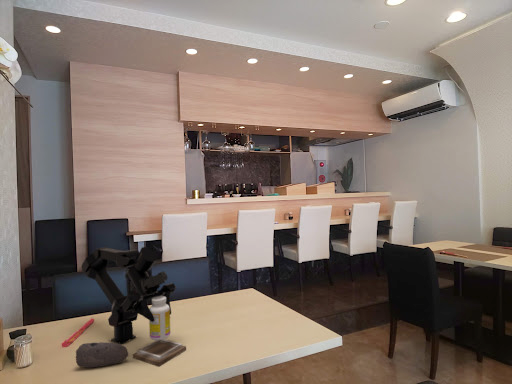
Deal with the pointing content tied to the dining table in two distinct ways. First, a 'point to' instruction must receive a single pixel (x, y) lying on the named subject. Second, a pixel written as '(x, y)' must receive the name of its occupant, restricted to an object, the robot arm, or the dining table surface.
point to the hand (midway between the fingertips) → (162, 317)
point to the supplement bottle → (160, 319)
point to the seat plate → (159, 352)
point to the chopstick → (77, 333)
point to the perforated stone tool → (100, 354)
